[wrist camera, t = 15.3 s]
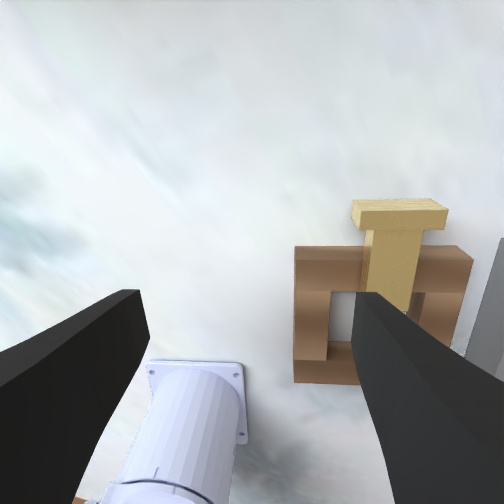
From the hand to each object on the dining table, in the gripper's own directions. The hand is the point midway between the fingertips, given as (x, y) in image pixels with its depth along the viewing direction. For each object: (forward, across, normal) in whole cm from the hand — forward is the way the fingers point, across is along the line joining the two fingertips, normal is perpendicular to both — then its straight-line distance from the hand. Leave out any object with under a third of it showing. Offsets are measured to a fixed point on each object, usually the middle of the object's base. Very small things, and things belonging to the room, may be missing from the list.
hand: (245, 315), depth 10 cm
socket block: (+10, -7, +7) cm, 14 cm away
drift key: (+8, -7, +1) cm, 11 cm away
